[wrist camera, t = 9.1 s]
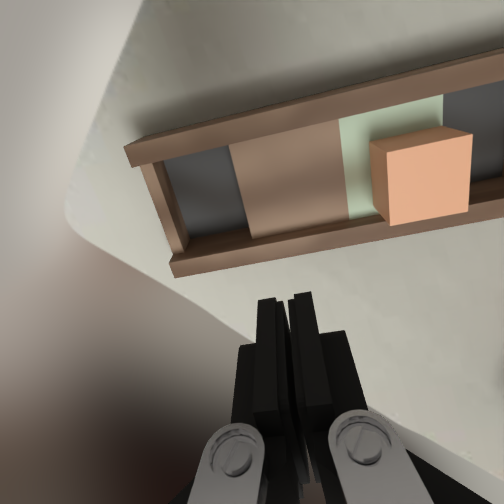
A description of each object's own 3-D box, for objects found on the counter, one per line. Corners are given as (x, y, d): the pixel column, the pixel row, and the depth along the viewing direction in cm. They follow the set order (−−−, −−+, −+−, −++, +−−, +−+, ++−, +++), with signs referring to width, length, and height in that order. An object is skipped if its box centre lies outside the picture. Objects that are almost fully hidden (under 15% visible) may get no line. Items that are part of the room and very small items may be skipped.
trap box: (143, 136, 28) (123, 146, 24) (528, 41, 24) (581, 34, 20) (185, 253, 32) (174, 278, 28) (510, 190, 29) (550, 208, 25)
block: (368, 141, 24) (386, 152, 21) (441, 125, 24) (472, 134, 20) (373, 206, 27) (390, 225, 23) (439, 193, 26) (467, 211, 22)
